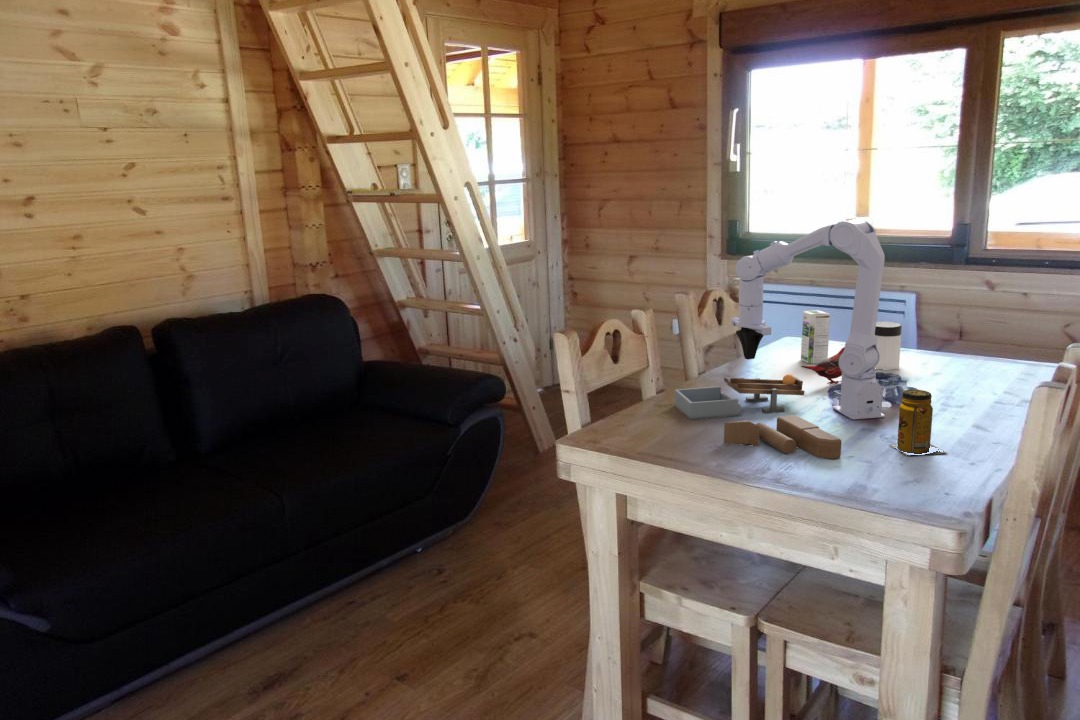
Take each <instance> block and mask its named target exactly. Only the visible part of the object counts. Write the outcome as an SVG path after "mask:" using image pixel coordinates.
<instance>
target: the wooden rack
mask: <svg viewBox="0 0 1080 720" xmlns="http://www.w3.org/2000/svg"><path fill="white" fill-rule="evenodd" d="M794 377H795V380H796V381H795V384H794V385H792V384H783V381H782V380H783V379H769V378H767V379H764V378H763V379H762V378H760V379H755V378H745V377H734V376H733V377H730V376H729V377H727V376H724V378H723V381H724V383H726V384H727V385H726V386H729V387H730V388H731V389H733V390H734V391H735V392H737V393H738V394H743V395H744V394H750V395H752V394H753V395H754V394H760V395H771V389H777V396H778V395H779V396H780V395H782V396H784V395H785V396H788V395H789V396H805V393H806V392H805V390H803V385H804V381H803V380H802V379H799V378H798V377H796V376H794Z"/></svg>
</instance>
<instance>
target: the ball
mask: <svg viewBox="0 0 1080 720" xmlns="http://www.w3.org/2000/svg"><path fill="white" fill-rule="evenodd" d="M795 377H796V376H794V375H793V374H790V373H788V374H785V375H784V376H783V377H782V379H781V380H782V381H783V384H792V385H794V384H795V381H796V380H795Z"/></svg>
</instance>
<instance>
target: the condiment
mask: <svg viewBox="0 0 1080 720" xmlns="http://www.w3.org/2000/svg"><path fill="white" fill-rule="evenodd" d="M932 397H933V396H932V393H931V392H929V391H927V390H923V389H906V390H903V392H902V400H901V402H902V403H900V405H899V411H898V412H899V414H898V429H897V443H894V444H895V445H896V444H898V446H897V448H898V449H899V450H900V452H899V453H901V451H903V452H907V453H914V454H922V453H927V452H929V448H930V446H931V447H935V448H938V447H937V446H935V445H934V444H932V442H931V439H932V425H933V424H932V423H933V412H934V411H933V410H934V408H933V405H932ZM894 444H890V443H889V444H888V445H889V446H891V447H892V448H893V449H894V448H895V447H896V446H893V445H894ZM939 449H940V448H939ZM939 449H938V450H939ZM944 451H945V450H943V453H942V452H940V451H939V452H938V451H936V452H933V453H935V454H933V453H930V454H929V455H940V454H941V455H942V454H948V451H945V452H944ZM902 454H903V455H905V456H906V457H908V456H907V455H906V454H905V453H902ZM929 455H928V456H929Z"/></svg>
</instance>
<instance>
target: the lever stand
mask: <svg viewBox="0 0 1080 720" xmlns="http://www.w3.org/2000/svg"><path fill="white" fill-rule="evenodd" d="M754 379H761V378H759V377H758V378H754ZM745 401H746V402H748V403H751V402H752V403H754V402H756V403H757V402H767V401H769V397H768V396H766V395H761V394H753V396H746V397H745ZM769 405H770V407H764V408H763V407H762V408H761V412H762V413H763V414H765V415H766V414H775V413H778V414H779V413H785V412H786V408H785V407H783V406H778V394H777V389H771V394H770V402H769Z"/></svg>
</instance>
